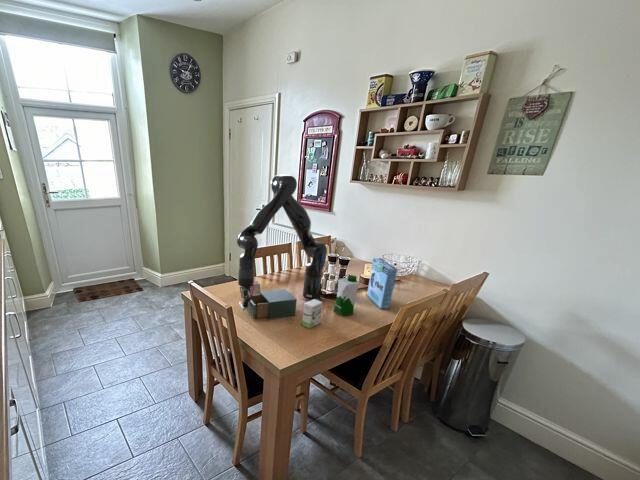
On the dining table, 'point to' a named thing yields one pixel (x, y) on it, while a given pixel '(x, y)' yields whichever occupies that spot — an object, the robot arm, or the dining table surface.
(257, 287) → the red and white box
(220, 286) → the dining table surface
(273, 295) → the cabinet
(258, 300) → the drawer
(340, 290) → the milk carton
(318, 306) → the ink box
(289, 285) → the dining table surface
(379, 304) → the light blue box
